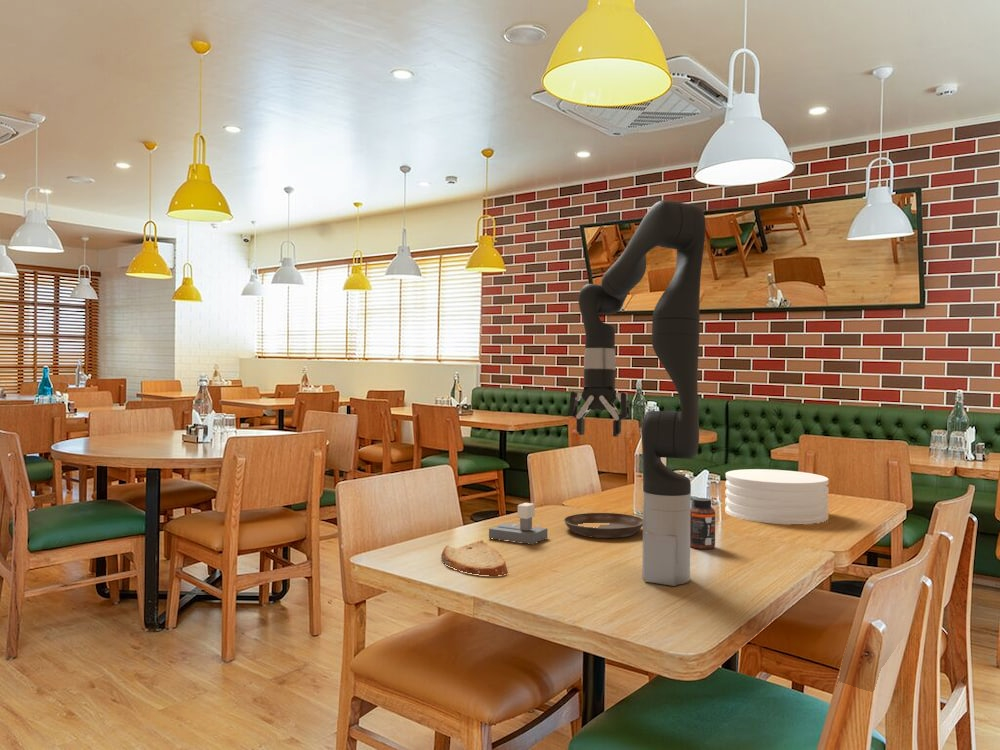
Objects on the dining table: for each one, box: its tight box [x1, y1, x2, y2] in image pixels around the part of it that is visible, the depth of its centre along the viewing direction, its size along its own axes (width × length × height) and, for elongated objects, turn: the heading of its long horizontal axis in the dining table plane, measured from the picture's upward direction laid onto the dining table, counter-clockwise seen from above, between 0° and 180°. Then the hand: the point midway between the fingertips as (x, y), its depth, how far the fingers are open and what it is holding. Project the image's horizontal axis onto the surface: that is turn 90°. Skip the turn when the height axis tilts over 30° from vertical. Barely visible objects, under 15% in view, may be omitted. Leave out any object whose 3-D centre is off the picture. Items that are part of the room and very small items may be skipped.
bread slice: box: [440, 539, 509, 576], centre depth 151 cm, size 18×18×4 cm
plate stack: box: [724, 468, 830, 525], centre depth 206 cm, size 28×28×12 cm
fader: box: [517, 502, 536, 531], centre depth 171 cm, size 4×3×6 cm, turn 151°
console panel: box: [488, 522, 548, 545], centre depth 173 cm, size 8×12×3 cm, turn 61°
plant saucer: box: [563, 512, 643, 539], centre depth 183 cm, size 21×21×3 cm
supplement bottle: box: [690, 497, 716, 550], centre depth 166 cm, size 6×6×11 cm
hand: (598, 435), depth 169 cm, fingers open, 8 cm apart
